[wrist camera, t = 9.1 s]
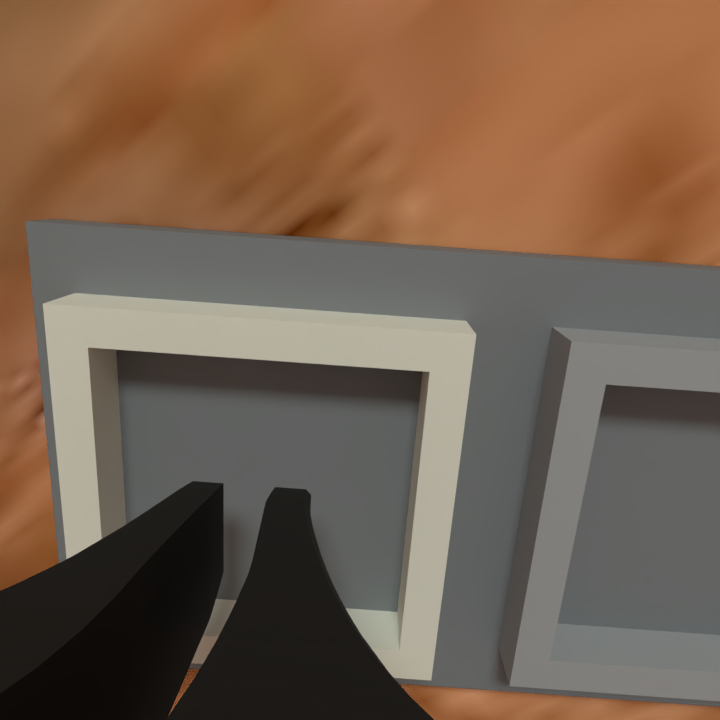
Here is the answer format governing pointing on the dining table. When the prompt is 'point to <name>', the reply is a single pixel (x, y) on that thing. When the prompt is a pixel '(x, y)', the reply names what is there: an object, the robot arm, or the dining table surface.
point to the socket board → (410, 438)
